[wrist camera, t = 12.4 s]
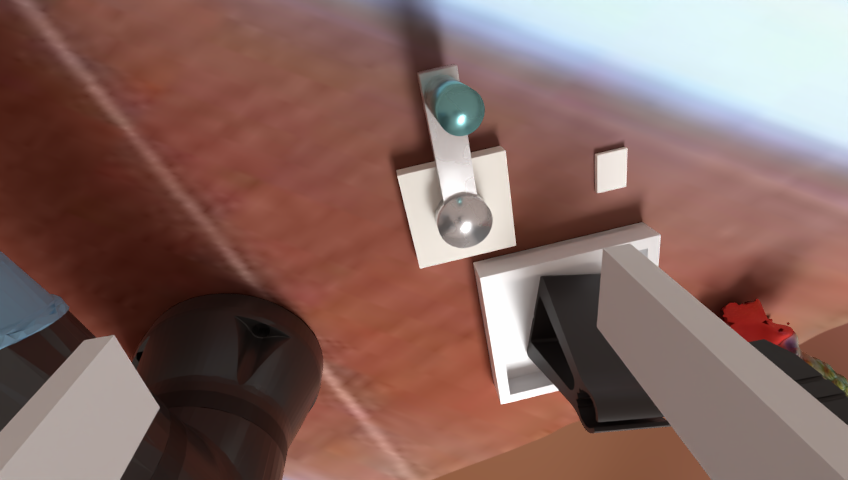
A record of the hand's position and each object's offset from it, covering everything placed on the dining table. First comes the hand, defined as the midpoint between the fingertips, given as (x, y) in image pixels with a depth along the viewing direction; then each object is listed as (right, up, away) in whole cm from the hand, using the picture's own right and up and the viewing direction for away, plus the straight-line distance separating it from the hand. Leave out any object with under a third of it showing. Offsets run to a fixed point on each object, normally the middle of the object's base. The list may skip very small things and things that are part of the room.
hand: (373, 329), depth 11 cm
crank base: (+9, +6, +21) cm, 24 cm away
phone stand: (+14, -4, +27) cm, 31 cm away
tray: (+14, -4, +28) cm, 31 cm away
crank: (+3, +8, +18) cm, 20 cm away
